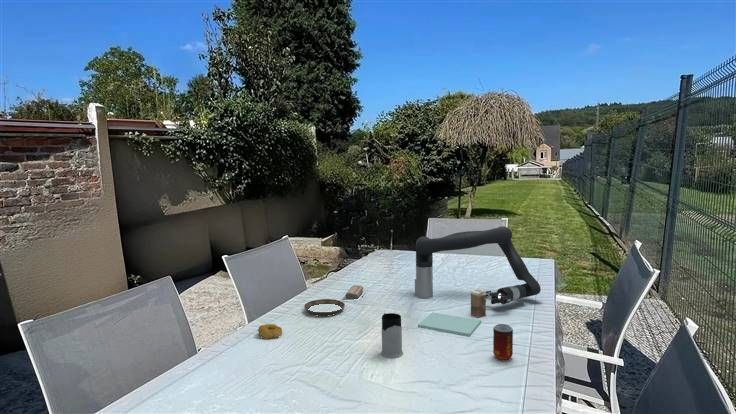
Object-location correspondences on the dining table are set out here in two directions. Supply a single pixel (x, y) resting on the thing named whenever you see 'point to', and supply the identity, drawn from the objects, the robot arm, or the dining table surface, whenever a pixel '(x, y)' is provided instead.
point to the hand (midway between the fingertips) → (485, 299)
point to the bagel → (269, 331)
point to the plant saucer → (324, 301)
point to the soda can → (503, 342)
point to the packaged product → (353, 293)
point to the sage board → (450, 324)
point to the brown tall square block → (478, 303)
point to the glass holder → (391, 336)
